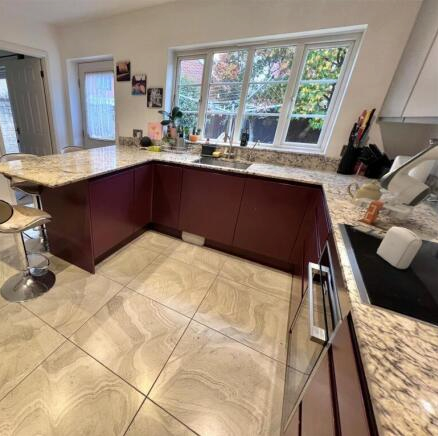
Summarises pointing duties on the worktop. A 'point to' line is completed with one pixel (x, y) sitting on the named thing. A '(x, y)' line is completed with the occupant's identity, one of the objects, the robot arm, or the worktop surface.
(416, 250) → the photo printer
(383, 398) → the worktop surface
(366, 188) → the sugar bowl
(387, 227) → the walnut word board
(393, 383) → the worktop surface
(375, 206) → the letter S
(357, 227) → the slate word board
